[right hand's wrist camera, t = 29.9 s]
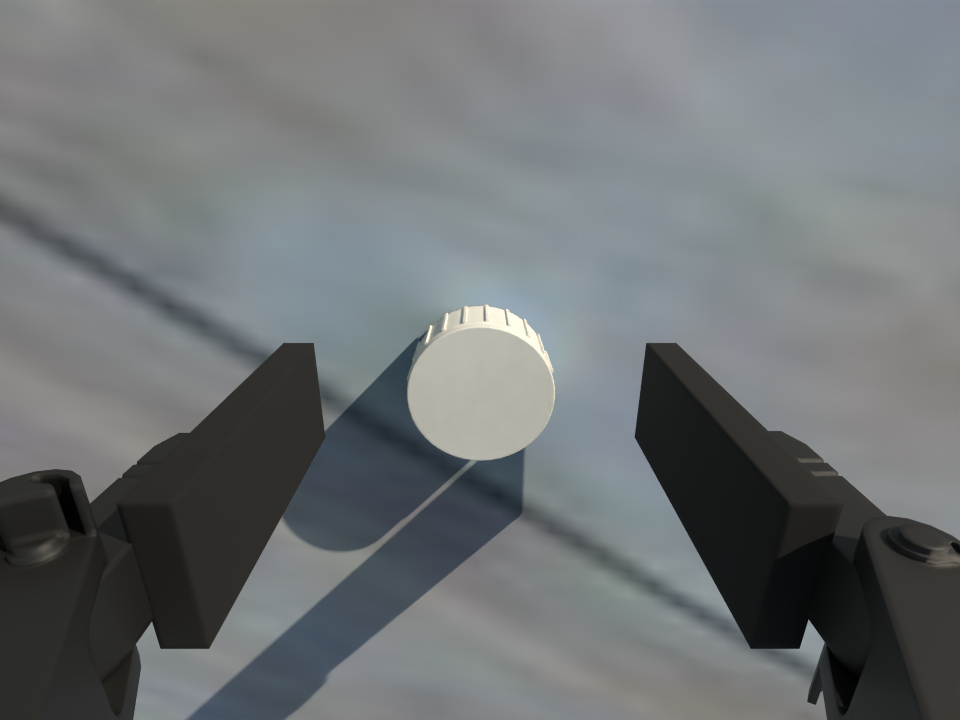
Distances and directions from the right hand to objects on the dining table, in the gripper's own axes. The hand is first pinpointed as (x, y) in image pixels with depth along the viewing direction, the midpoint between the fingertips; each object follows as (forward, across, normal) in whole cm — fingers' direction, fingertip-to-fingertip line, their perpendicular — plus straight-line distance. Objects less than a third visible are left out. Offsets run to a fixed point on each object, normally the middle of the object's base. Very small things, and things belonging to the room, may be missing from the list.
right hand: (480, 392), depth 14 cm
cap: (0, 0, 0) cm, 0 cm away
